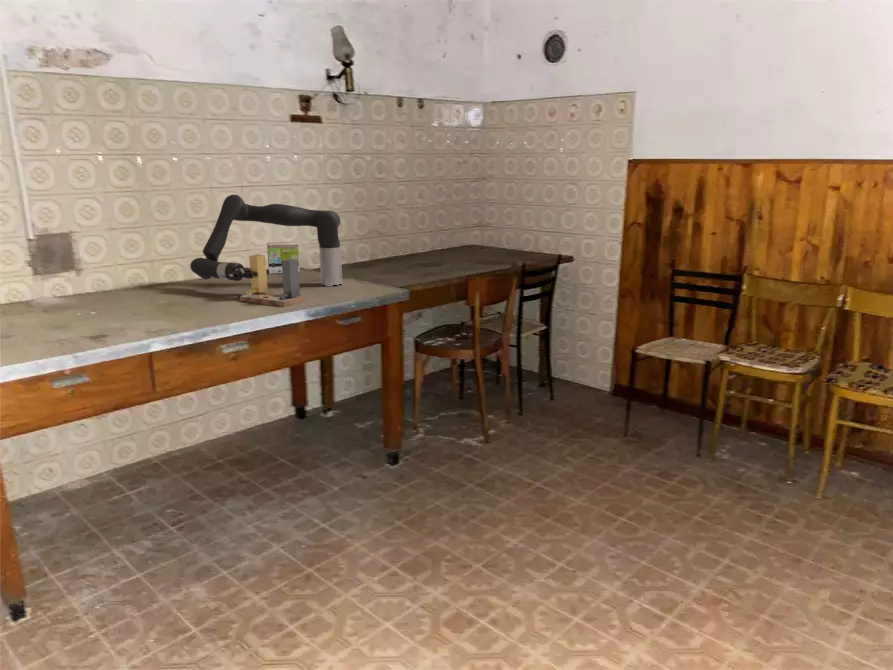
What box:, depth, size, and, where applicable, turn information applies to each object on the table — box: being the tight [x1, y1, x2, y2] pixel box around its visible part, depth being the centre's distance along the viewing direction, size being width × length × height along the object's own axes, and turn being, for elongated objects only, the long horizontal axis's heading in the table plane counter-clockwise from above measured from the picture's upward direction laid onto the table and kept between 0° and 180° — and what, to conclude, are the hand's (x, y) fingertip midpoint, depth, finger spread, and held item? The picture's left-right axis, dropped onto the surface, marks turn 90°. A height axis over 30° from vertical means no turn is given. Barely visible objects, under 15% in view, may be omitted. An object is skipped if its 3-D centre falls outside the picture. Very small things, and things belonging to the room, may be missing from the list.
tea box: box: [266, 241, 300, 275], centre depth 341 cm, size 15×10×15 cm
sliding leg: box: [245, 253, 269, 295], centre depth 277 cm, size 4×10×15 cm, turn 152°
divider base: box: [239, 259, 306, 308], centre depth 273 cm, size 23×13×17 cm, turn 62°
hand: (259, 274), depth 279 cm, fingers open, 8 cm apart
